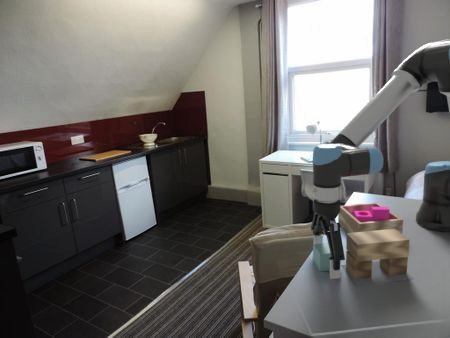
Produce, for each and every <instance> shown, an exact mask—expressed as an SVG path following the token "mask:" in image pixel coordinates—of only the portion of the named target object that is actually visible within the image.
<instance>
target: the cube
mask: <svg viewBox="0 0 450 338" xmlns="http://www.w3.org/2000/svg"><path fill="white" fill-rule="evenodd" d="M330 257H331V253H330V249H329V244H328V242H325V243H324V242H323V244H314V243H313V244H312V260H313V263H314V264H315V266H316V268H317V269H318V270H319V272H330V259H329V258H330Z"/></svg>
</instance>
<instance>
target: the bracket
mask: <svg viewBox="0 0 450 338" xmlns="http://www.w3.org/2000/svg"><path fill="white" fill-rule="evenodd" d="M389 211H390V208H389V207H388V206H383V207H371V208H370V210H369V211H354V212H353V216H354V217H355V218H356V219H357V220H359V221H360V222H371V221H381V220H383V219H389Z"/></svg>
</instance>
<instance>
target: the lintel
mask: <svg viewBox="0 0 450 338" xmlns="http://www.w3.org/2000/svg"><path fill="white" fill-rule="evenodd" d="M345 248H346V249H345V250H346V251H348V252H349V253H350V254H351V255H352V256H353V257H354V258H355V260H356V261H357V262H359V261H369V260H372V261H376V260H377V261H378V260H379V261H380V259H390V258H400V257H408V258H409V252H410V239H409V238H408V237H406V236H405V235H404V234H403V233H402V234H401V233H400V232H398V231H397V230H396V229H386V230H375V231H365V232H354V233H348V232H346V245H345Z"/></svg>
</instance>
